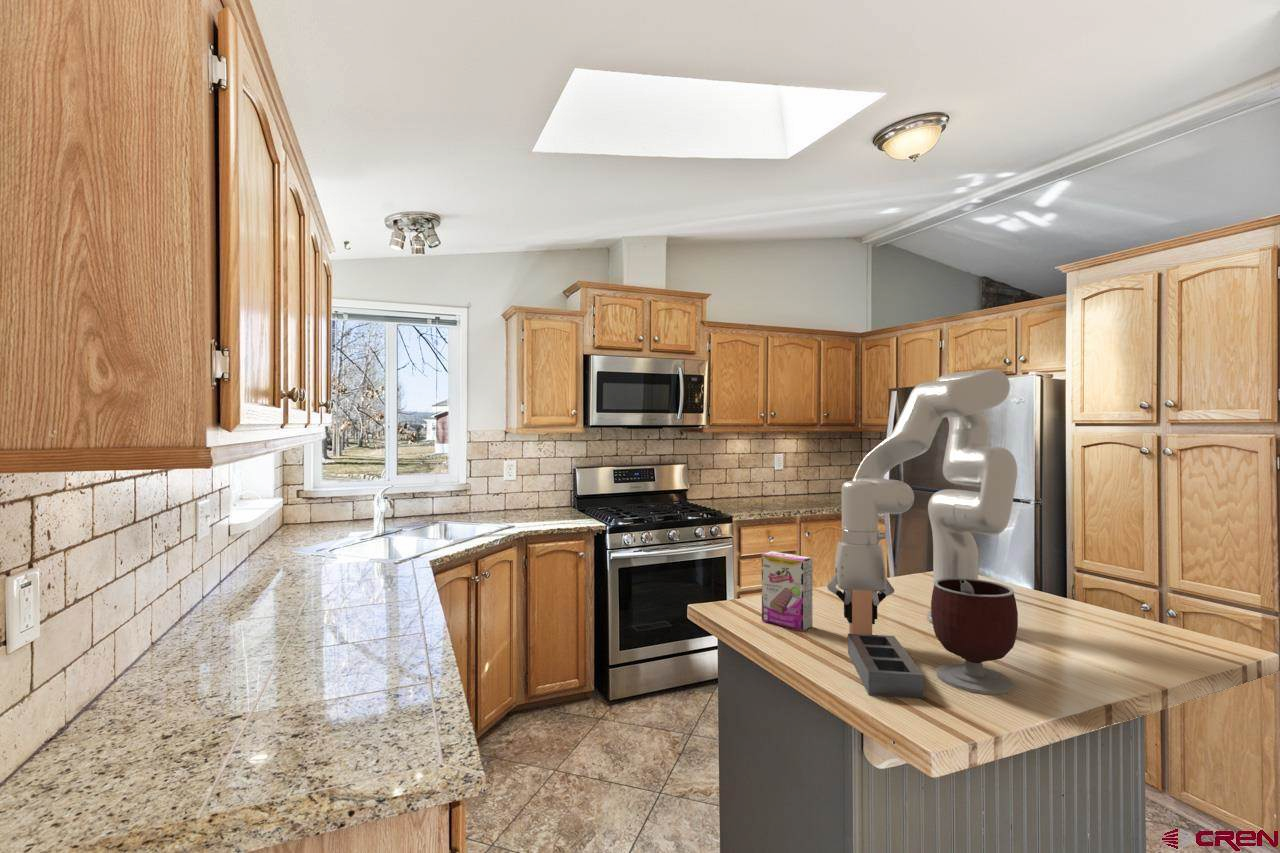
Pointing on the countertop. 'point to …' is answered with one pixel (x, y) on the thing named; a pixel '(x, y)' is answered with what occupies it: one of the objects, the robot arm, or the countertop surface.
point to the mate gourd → (974, 631)
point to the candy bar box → (787, 590)
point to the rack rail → (885, 666)
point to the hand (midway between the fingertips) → (860, 620)
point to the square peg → (861, 612)
